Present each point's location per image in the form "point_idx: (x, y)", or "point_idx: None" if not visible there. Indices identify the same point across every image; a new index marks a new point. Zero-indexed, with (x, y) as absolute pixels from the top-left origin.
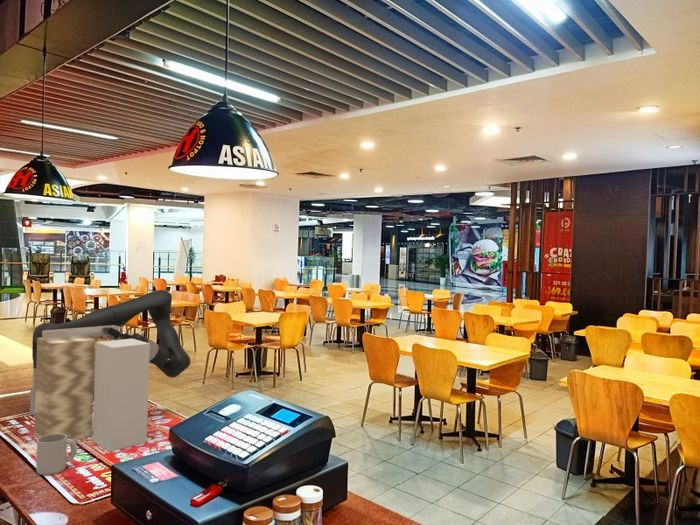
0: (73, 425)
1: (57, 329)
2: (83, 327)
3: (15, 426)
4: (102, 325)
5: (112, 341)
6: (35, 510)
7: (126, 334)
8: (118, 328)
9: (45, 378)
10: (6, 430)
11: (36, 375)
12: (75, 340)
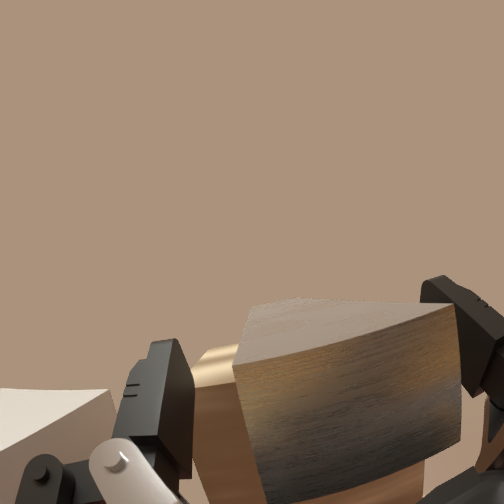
0: None
1: (300, 298)
2: (325, 299)
3: None
4: (436, 289)
5: (44, 410)
6: None
7: (28, 469)
8: (243, 398)
9: None
10: (428, 493)
11: None
12: (219, 363)
